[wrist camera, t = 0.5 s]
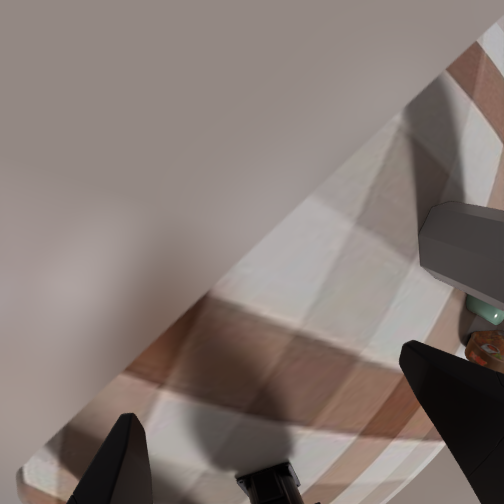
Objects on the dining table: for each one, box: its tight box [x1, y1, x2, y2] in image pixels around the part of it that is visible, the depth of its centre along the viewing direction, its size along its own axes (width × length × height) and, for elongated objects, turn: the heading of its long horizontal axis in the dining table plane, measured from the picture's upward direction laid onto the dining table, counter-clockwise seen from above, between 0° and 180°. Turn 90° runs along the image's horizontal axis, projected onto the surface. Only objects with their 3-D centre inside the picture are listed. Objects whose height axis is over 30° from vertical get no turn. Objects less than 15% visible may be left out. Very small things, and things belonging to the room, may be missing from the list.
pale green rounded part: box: [466, 294, 504, 325], centre depth 27 cm, size 4×4×4 cm
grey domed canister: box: [418, 201, 504, 311], centre depth 19 cm, size 7×7×13 cm
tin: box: [465, 330, 504, 374], centre depth 28 cm, size 15×3×8 cm, turn 77°
